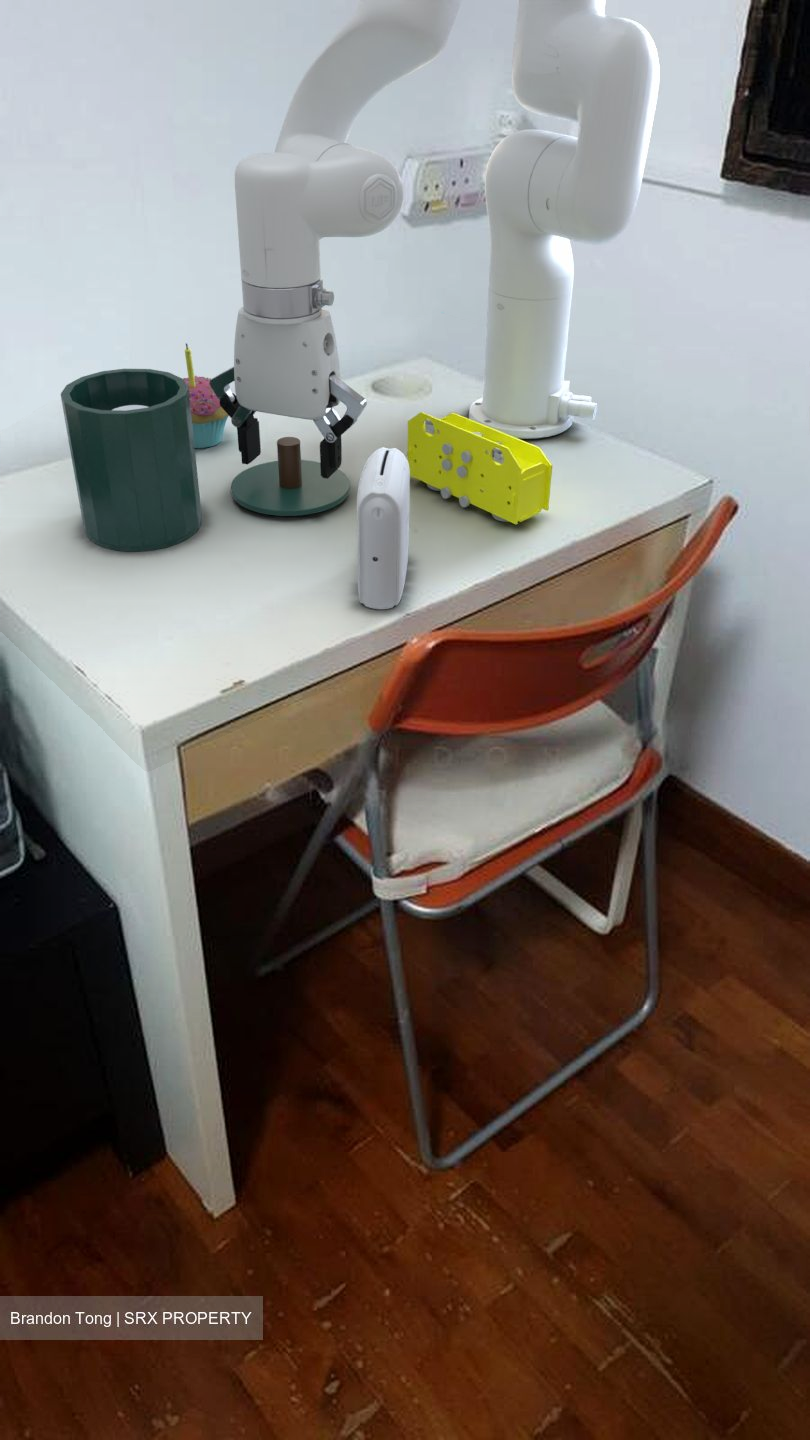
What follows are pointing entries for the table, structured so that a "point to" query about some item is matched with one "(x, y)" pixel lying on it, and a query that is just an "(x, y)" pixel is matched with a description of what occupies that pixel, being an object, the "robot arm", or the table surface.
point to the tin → (133, 458)
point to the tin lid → (289, 484)
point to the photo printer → (383, 528)
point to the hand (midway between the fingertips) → (290, 465)
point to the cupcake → (204, 408)
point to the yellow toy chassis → (479, 466)
